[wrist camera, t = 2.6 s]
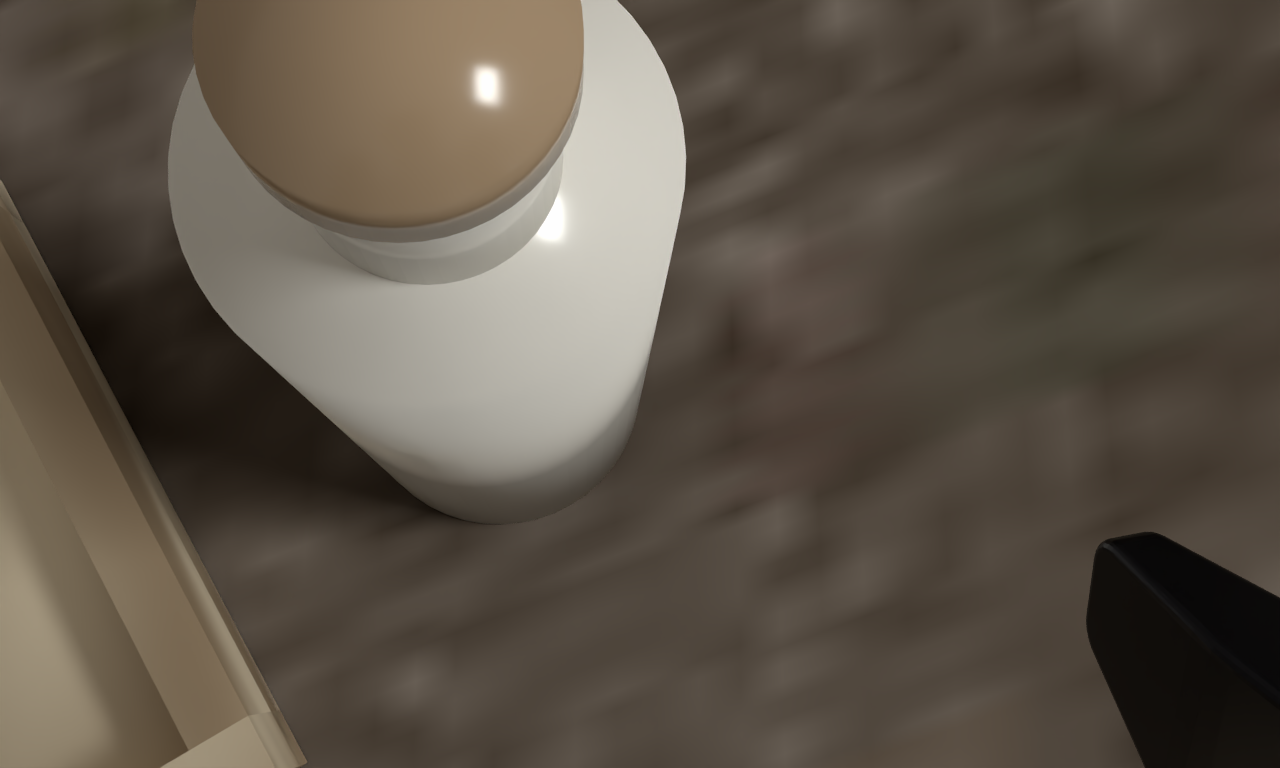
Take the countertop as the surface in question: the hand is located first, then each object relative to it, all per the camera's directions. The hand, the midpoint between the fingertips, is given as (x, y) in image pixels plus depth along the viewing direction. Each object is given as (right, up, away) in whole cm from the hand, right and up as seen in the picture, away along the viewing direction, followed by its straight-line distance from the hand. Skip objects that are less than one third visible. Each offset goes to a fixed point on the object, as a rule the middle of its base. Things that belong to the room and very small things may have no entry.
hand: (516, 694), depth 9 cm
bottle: (-2, +2, +13) cm, 13 cm away
